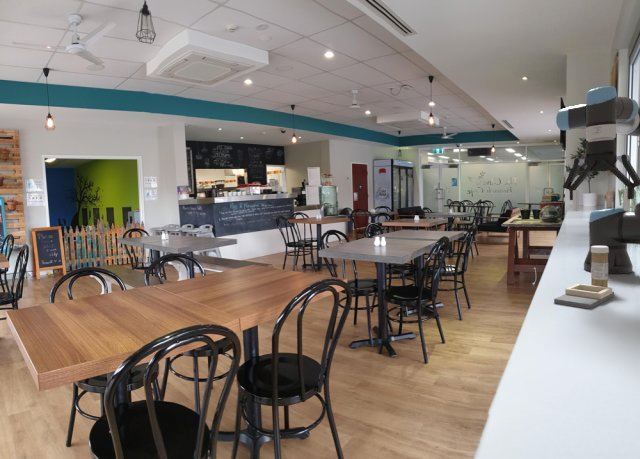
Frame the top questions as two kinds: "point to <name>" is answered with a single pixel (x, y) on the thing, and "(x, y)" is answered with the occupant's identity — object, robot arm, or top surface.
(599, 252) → the sprinkles bottle
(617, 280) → the top surface
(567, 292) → the slate base board
